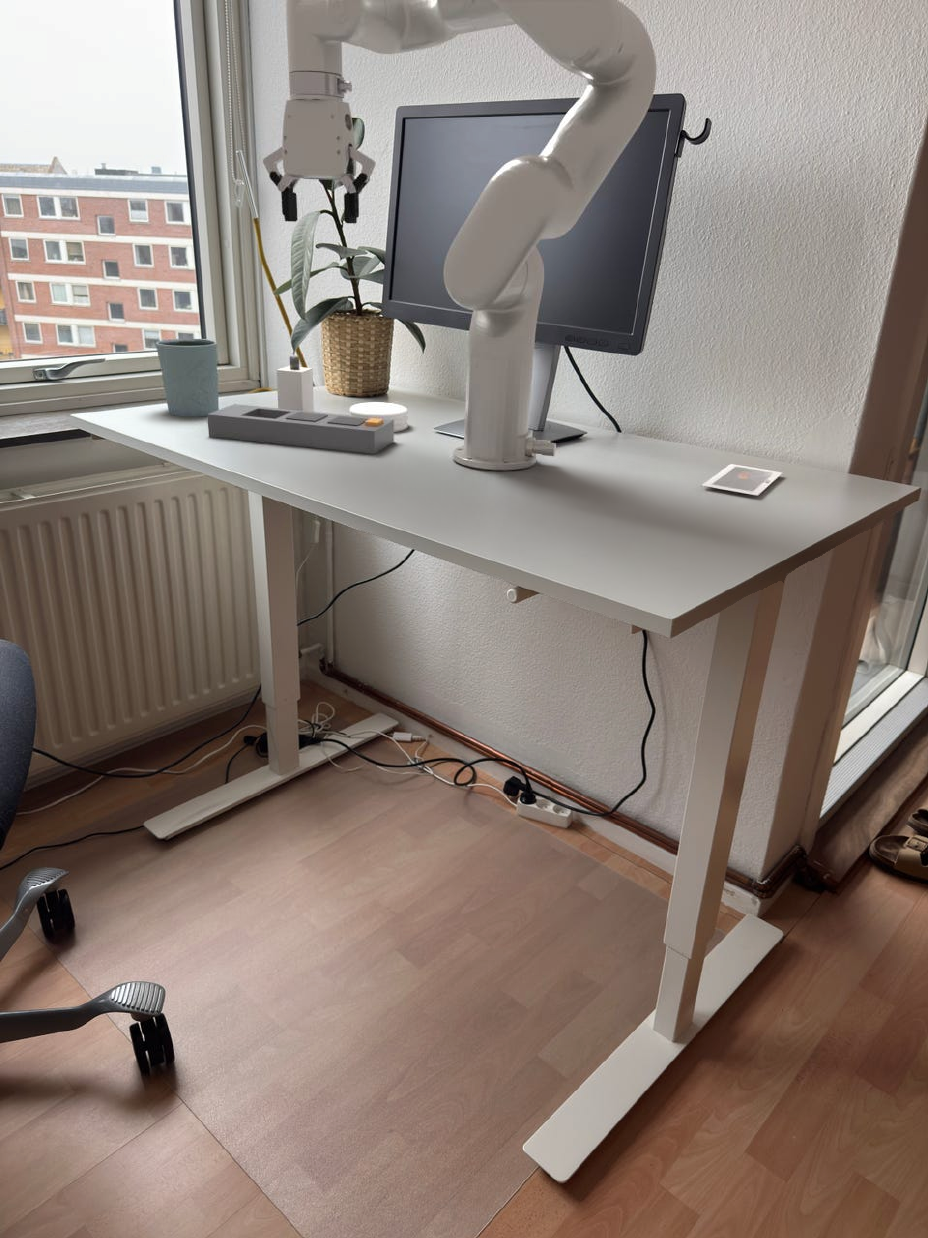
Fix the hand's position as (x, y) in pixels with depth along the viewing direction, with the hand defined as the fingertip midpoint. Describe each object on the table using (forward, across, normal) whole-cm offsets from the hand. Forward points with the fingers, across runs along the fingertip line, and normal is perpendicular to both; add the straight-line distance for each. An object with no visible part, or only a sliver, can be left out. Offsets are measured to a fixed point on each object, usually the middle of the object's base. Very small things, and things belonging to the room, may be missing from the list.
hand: (320, 222), depth 133 cm
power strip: (+32, +2, +5) cm, 32 cm away
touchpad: (+33, -66, +3) cm, 74 cm away
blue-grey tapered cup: (+32, +28, -6) cm, 43 cm away
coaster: (+32, -6, -9) cm, 34 cm away
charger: (+32, +8, -6) cm, 33 cm away
